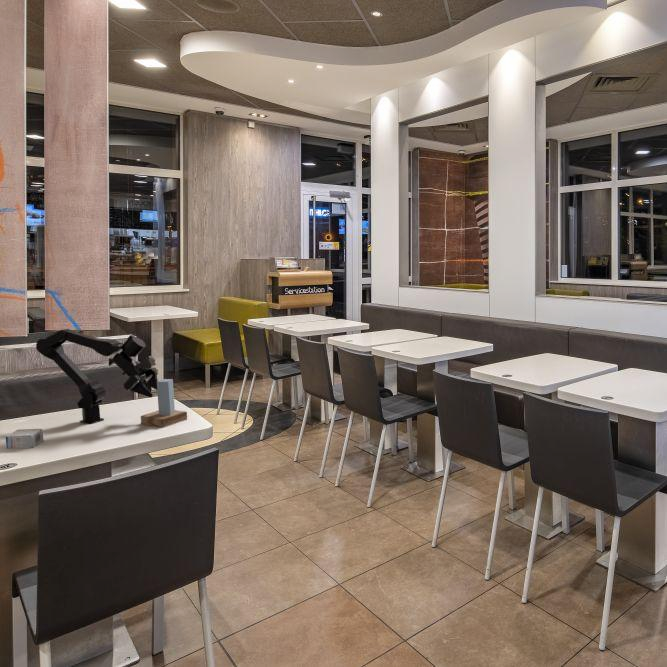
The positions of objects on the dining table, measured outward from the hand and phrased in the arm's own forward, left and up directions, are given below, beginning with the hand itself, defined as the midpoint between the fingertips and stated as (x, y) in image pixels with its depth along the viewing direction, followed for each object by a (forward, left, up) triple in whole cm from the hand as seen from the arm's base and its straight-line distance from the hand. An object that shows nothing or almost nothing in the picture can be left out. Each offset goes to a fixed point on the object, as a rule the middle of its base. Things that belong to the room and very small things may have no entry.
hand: (157, 393), depth 211 cm
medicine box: (+16, +38, -9) cm, 42 cm away
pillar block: (-3, -2, -8) cm, 8 cm away
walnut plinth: (-2, -1, -11) cm, 11 cm away
